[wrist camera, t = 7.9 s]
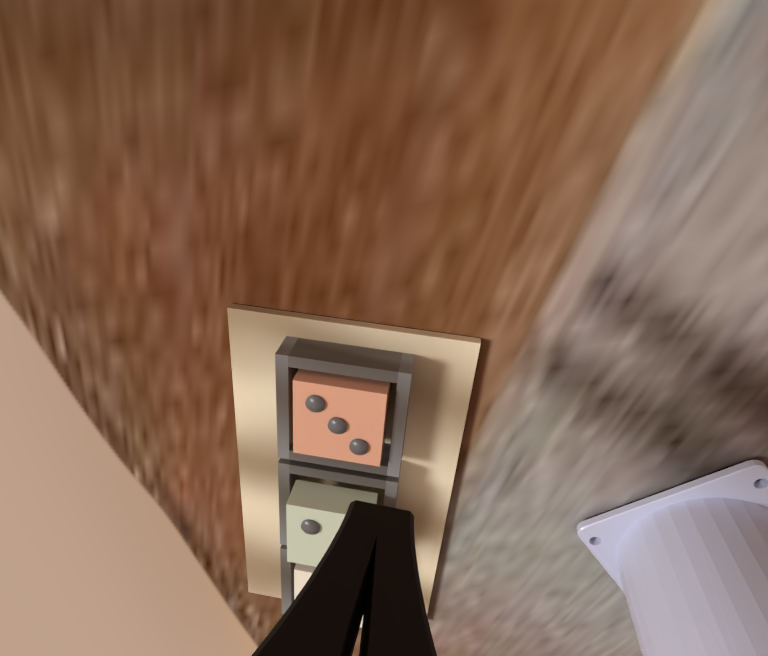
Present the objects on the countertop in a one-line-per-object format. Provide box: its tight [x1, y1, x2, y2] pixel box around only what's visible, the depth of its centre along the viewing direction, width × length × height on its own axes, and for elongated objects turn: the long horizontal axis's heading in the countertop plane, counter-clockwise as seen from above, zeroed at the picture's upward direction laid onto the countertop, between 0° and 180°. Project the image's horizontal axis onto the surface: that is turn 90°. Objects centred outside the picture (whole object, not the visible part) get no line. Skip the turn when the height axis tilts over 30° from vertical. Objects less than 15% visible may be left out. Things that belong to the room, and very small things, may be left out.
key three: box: [293, 369, 391, 467], centre depth 21 cm, size 4×4×2 cm
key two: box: [286, 480, 378, 567], centre depth 23 cm, size 4×4×2 cm
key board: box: [227, 303, 481, 629], centre depth 24 cm, size 18×10×2 cm, turn 175°
